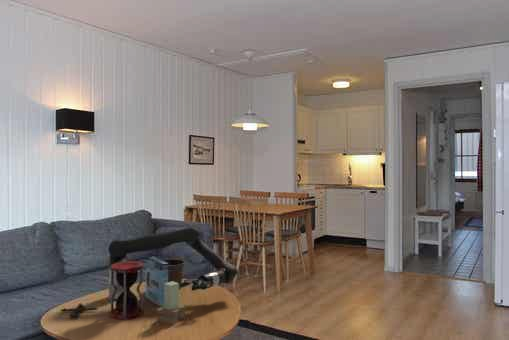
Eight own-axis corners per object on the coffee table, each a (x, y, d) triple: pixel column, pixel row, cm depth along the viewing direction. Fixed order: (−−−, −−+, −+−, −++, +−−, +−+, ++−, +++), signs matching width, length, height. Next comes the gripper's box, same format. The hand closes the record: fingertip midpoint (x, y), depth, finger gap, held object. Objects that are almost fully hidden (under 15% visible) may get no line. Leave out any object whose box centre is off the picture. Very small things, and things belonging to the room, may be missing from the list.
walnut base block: (174, 324, 197) (174, 312, 197) (156, 321, 200) (156, 309, 200) (185, 317, 206) (185, 305, 206) (168, 315, 210) (168, 303, 210)
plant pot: (171, 293, 244) (171, 266, 244) (152, 289, 253) (152, 262, 252) (190, 287, 257) (190, 261, 257) (171, 283, 266) (171, 258, 266)
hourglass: (107, 320, 201) (107, 269, 201) (113, 309, 217) (113, 261, 216) (141, 318, 203) (141, 268, 203) (144, 307, 219) (145, 260, 219)
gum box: (145, 297, 236) (145, 257, 236) (153, 295, 239) (153, 256, 239) (159, 306, 221) (160, 264, 221) (168, 305, 224) (168, 262, 224)
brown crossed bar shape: (54, 314, 201) (63, 301, 215) (54, 322, 201) (63, 309, 216) (92, 312, 203) (99, 300, 218) (92, 321, 204) (99, 308, 218)
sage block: (170, 310, 199) (170, 285, 199) (164, 307, 203) (164, 283, 202) (178, 307, 203) (178, 283, 203) (172, 305, 206) (172, 281, 206)
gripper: (199, 271, 228) (177, 277, 215) (218, 275, 219) (195, 282, 206) (199, 284, 228) (177, 291, 215) (218, 289, 219) (195, 297, 206)
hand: (186, 287), depth 210 cm, fingers open, 8 cm apart
